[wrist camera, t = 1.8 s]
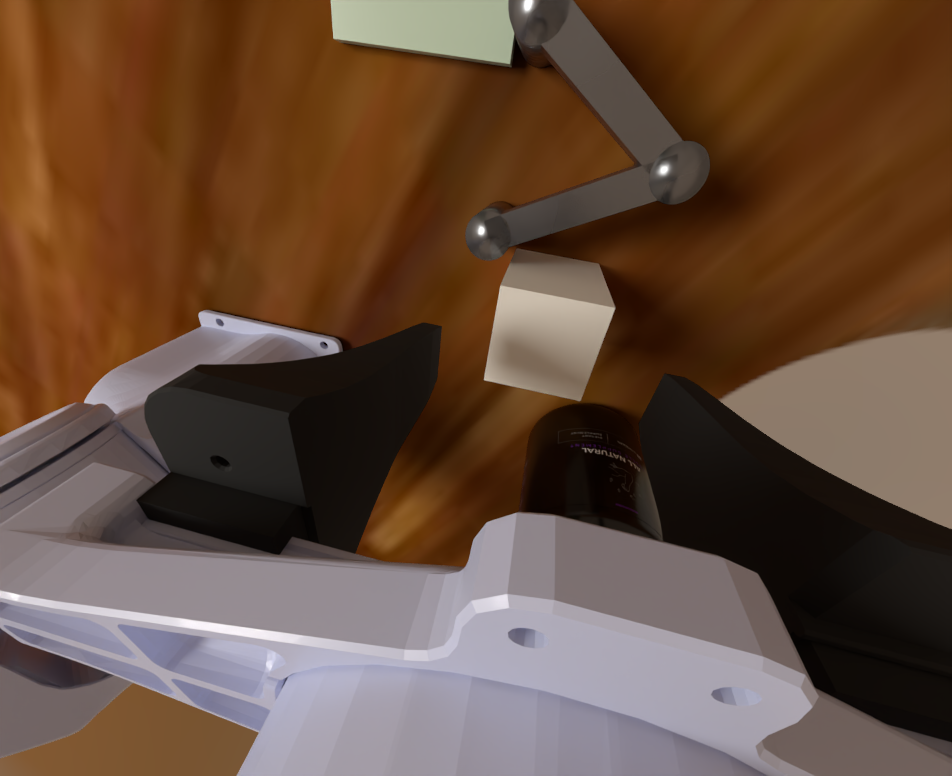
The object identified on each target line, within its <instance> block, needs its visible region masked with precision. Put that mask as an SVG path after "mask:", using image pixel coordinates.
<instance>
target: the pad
mask: <svg viewBox="0 0 952 776" xmlns="http://www.w3.org/2000/svg"><path fill="white" fill-rule="evenodd" d="M508 1H509V0H331V10H332V24H333V39H335V40H337V41H339V42H341V43H347V44H354V45H361V46H368V47H375V48H382V49H389V50H396V51H403V52H409V53H416V54H423V55H430V56H437V57H444V58H451V59H458V60H465V61H471V62H478V63H485V64H492V65H499V66H506V67H512V61H513V54H514V47H515V40H516V36H515V34H514V31H513V28H512V25H511V22H510V18H509V11H508Z"/></svg>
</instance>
